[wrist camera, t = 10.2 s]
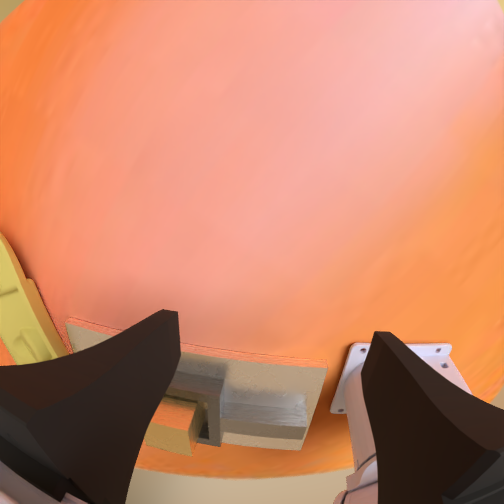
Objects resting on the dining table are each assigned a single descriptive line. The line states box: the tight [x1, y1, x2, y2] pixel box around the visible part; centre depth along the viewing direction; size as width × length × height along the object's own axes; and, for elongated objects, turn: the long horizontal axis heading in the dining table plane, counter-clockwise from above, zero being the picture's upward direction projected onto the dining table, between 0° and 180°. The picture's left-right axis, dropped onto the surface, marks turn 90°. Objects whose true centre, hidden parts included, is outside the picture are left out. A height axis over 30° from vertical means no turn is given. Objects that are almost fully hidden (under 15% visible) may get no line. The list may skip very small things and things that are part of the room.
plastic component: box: [0, 232, 69, 365], centre depth 22 cm, size 20×7×10 cm
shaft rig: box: [65, 317, 328, 450], centre depth 23 cm, size 23×12×3 cm, turn 86°
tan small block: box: [144, 394, 206, 457], centre depth 21 cm, size 4×4×5 cm
